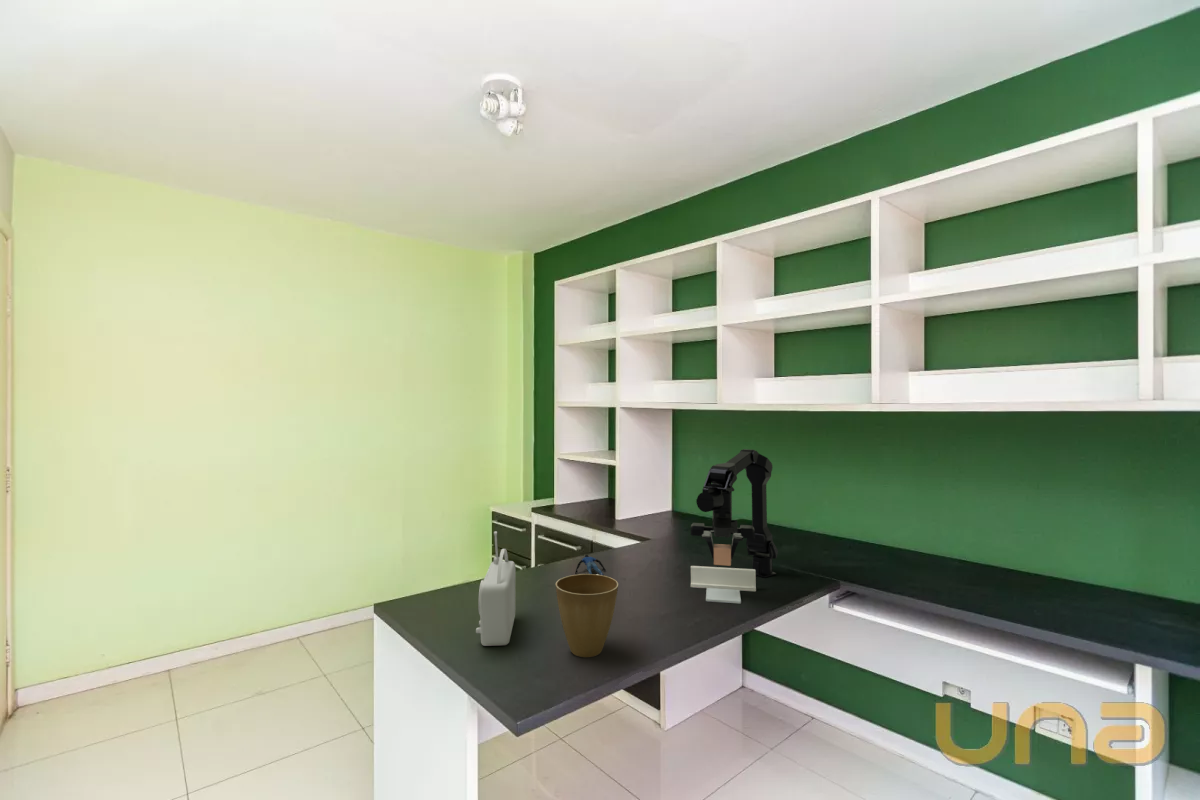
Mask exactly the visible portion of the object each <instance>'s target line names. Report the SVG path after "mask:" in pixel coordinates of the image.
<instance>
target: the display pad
mask: <svg viewBox="0 0 1200 800" xmlns="http://www.w3.org/2000/svg"><path fill="white" fill-rule="evenodd" d="M705 592H706V594H705V602H713V603H729V604H730V603H731V604H742V599H741V590H731V589H716V588H706V590H705Z"/></svg>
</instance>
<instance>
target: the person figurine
mask: <svg viewBox="0 0 1200 800" xmlns="http://www.w3.org/2000/svg"><path fill="white" fill-rule="evenodd" d="M596 562H597V564H599V565H600V567H602V570H601V569H600V568H599V567H598V565H597V564H596ZM582 563H583V564H585V566H586V570H587V572H588V574H593V572H592V569H593V570H594V571H595V572H596V573H597V574H596V575H603V576H605V574H604V573H606V572H607V570H606V569H605V567H604V564H602V561H600V560H599V559H597V558H595V557H592V556H589V555H588V554H585V555H584V557H583V558H582V559H580V561H578V564H577V566H576V569H575V574H574V575H577V574H579V571H578V569H579V568H580V567H581V564H582ZM603 572H604V573H603Z"/></svg>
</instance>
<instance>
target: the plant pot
mask: <svg viewBox="0 0 1200 800" xmlns="http://www.w3.org/2000/svg"><path fill="white" fill-rule="evenodd" d="M618 588H619V582H618V581H617V580H616V579H614V578H612V577H610V576H608V575H604V576H603V575H600V574H599V575H596V574H593V573H592V574H589V573H577V574H573V575H567V576H564V577H561V578H559V579H558V580H557V581H556V582H555V590H556V597H557V605H558V610H559V617H560V621H561V625H562V629H563V632H564V635H565V638H566V639H565V640H566V641H567V644H568V647H569V650H570V652H571V653H572V654H573V655H574V656H577V657H580V658H592V657H596V656H599V655H600V654H601V653H602V651H603V648H604V646H605V643H606V641H607V637H608V635H609V631H610V628H611V625H612V620H613V617H614V613H615V608H616V607H615V606H616V603H617V595H618Z"/></svg>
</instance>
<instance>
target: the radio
mask: <svg viewBox="0 0 1200 800" xmlns="http://www.w3.org/2000/svg"><path fill="white" fill-rule="evenodd" d="M493 536H494V548H495V549H494V550H495V557H493V561H492V562H491V563H490V564H489V567H488V570H487V572H486V574H485V576H484V578H483V579H481V581H480V584H479V588H478V589H479V591H478V604H477V605H478V609H477V610H478V614H479V616H480V620H478V626H479V627H476V629H475V633H476V634H480V644H481V645H482V646H484V647H492V646H493V647H494V646H497V647H498V646H500V647H501V646H507V645H508V644H509V643H510V640H511V635H512V632H513V626H514V622H515V618H516V563H515V562H514V561H513V560H509V555H508V551H507V549H506V548H502V549H500V553H499V551H498V531H496V530H495V531H493Z"/></svg>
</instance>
